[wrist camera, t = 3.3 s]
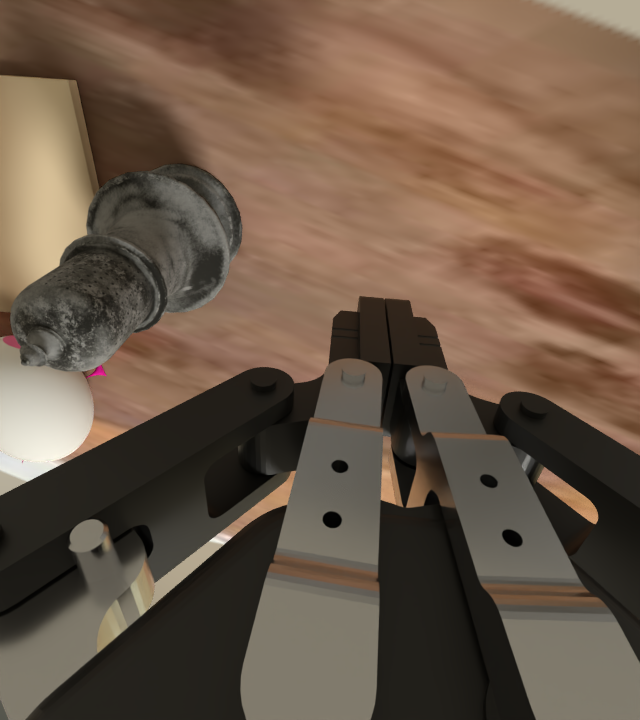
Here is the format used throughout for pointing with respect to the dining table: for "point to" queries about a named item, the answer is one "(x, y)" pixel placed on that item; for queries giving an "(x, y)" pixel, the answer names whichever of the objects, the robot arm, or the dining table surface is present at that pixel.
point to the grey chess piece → (130, 267)
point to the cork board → (40, 178)
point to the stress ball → (41, 408)
